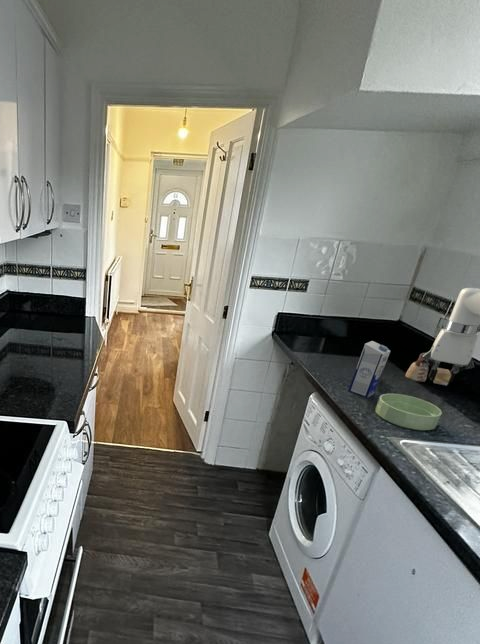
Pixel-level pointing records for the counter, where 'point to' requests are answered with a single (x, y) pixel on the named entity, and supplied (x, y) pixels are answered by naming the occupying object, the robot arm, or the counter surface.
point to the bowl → (408, 411)
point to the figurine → (418, 370)
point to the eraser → (442, 376)
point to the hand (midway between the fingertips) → (439, 380)
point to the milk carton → (369, 369)
